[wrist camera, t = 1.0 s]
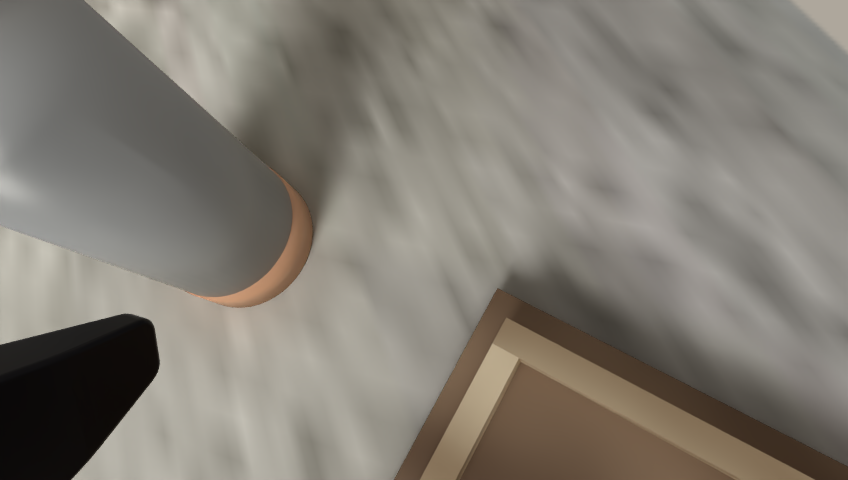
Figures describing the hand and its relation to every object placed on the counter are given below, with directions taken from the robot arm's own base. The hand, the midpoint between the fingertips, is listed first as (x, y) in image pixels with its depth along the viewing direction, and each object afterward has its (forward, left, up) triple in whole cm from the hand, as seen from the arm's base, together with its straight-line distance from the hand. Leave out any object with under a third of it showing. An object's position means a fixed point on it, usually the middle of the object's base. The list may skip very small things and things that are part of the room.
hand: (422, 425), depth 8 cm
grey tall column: (+1, +13, -14) cm, 19 cm away
